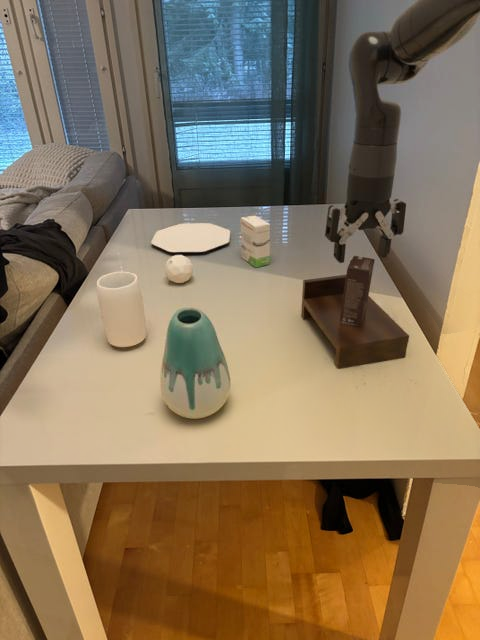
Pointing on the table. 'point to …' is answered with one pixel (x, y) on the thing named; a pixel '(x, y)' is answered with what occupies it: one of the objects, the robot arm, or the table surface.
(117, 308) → the cup
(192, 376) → the vase
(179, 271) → the ornament
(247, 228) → the ink box
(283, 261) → the table surface
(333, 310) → the rack
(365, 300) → the box
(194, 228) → the plate
